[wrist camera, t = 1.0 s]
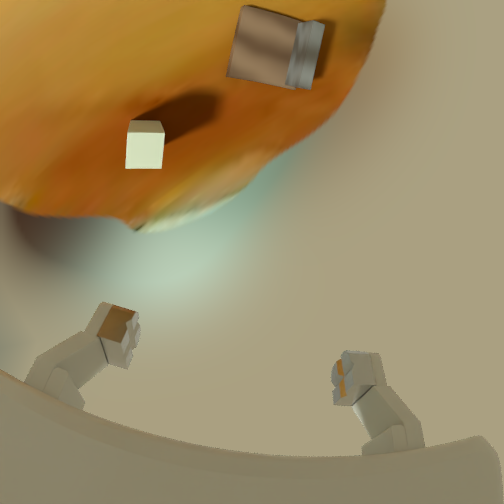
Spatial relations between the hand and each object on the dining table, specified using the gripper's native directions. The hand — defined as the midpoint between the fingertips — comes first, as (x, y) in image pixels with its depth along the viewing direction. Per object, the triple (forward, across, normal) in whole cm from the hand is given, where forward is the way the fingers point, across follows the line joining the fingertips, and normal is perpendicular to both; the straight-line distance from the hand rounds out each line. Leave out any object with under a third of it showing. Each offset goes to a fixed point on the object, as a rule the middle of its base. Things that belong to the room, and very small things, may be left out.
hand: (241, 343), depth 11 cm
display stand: (+42, +3, -13) cm, 43 cm away
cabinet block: (+34, +18, +3) cm, 38 cm away
